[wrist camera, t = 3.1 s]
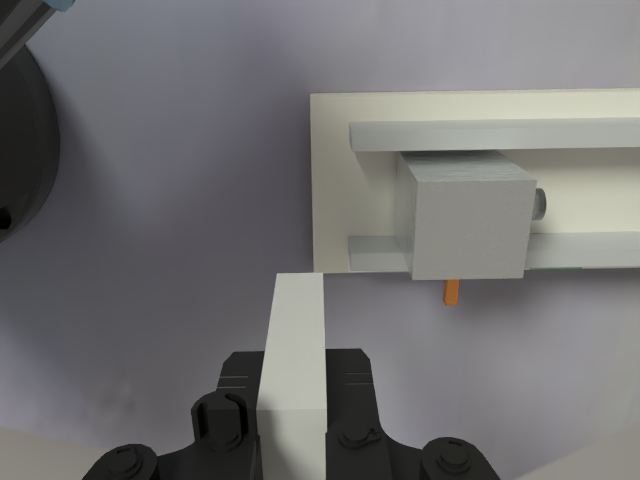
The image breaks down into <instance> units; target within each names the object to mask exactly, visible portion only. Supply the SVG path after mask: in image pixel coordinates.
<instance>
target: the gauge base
mask: <svg viewBox="0 0 640 480" xmlns="http://www.w3.org/2000/svg"><path fill="white" fill-rule="evenodd" d="M310 123H311V170H312V218H313V265H314V273H376V272H409V270H408V267H407V265H406V262H405V259H404V257H403V254H402V251H401V249H400V246H399V243H398V241H397V238H396V235H395V233H394V215H395V191H396V168H397V151H423V150H483V149H496V150H497V151H499V152H500V153H501V154H503V155H504V156H505V157H507V158H508V159H509V160H511V161H512V162H514V163H515V164H516V165H518V166H519V167H520V168H522V169H523V170H524V171H526V172H527V173H529V174H530V175H531V176H533V177H534V178H535V179H537V186H536V188H542V189H543V190H544V192H545V195H546V201H547V206H546V213H545V216H544V217H543V219H542V220H531V226H530V233H529V240H528V247H527V253H526V260H525V267H524V270H552V269H600V268H640V88H609V89H548V90H486V91H424V92H363V93H310Z"/></svg>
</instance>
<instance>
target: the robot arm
mask: <svg viewBox="0 0 640 480" xmlns="http://www.w3.org/2000/svg"><path fill="white" fill-rule="evenodd" d="M74 2H75V0H0V243H1V242H3V241H4V240H6V239H7V238H8V237H10V236H11V235H12V234H14V233H15V232H17V231H18V230H19V229H21V228H22V227H23V226H24V225H26V224H27V223H28V222H29V221H30V220H31V219H32V218H33V217H34V216H35V215H36V213H37V212H38V211H39V210H40V208H41V207H42V205H43V204H44V202H45V201H46V199H47V197H48V195H49V193H50V191H51V188H52V186H53V183H54V180H55V177H56V173H57V168H58V162H59V151H60V139H59V128H58V122H57V116H56V112H55V108H54V104H53V101H52V98H51V95H50V92H49V90H48V87H47V85H46V83H45V80H44V78H43V76H42V74H41V72H40V70H39V68H38V67H37V65H36V63H35V61H34V60H33V58H32V57H31V55H30V53H29V52H28V51H27V49H26V48H25V46H24V44H25V43H26V42H27V41H28V40H29V39H30V38H31V37H32V36H33V35H34V34H35V33H36V32H37V31H38V29H39V28H40V27H41V26H42V25H43V24H44V23H45V22H46V21H47V20H48V19H49V18H50V17H51V16H52V15H53V14H54V13H55V12H56V10H58V11H60V12H66V11H67V10H68V9H69V8H70V7H71V6H72V5H73V3H74ZM191 415H192V423H193V430H194V438H195V441H194V443H193V444H191V445H189V446H188V447H186V448H184V449H181V450H179V451H176V452H172V453H169V454H165V455H161V456H156V453H155V452H154V451H153V450H152V449H151V448H150V447H147V446H145V445H142V444H128V445H124V446H120V447H116V448H115V449H113V450H111V451H109V452H107V453H105V454H104V455H103V456H102V457H101V458H100V459H99V460H98V461H97V462H96V463H95V464H94V465H93V466H92V468H91V469H90V470H89V471H88V473H87V474H86V475H85V476H84V477H83V479H82V480H500V478H499V477H498V475H497V474H496V472H495V471H494V470H493V468H492V467H491V465H490V464H489V463H488V461H487V460H486V458H485V457H484V456H483V454H482V453H481V452H480V451H479V450H478V449H477V448H476V447H475V446H474V445H472V444H470V443H468V442H466V441H464V440H461V439H457V438H453V437H442V438H437V439H435V440H432V441H429V442H428V444H427V445H426V446H425V447H424V448H423V450H421V449H417V448H413V447H409V446H406V445H403V444H400V443H398V442H396V441H394V440H393V439H391V438H390V437H389V436H388V435H387V434H386V433H385V432H384V430H383V429H382V427H381V424H380V421H379V415H378V408H377V402H376V396H375V389H374V385H373V377H372V370H371V364H370V359H369V358H368V357H367V356H366V354H365V353H364V352H363V351H362V350H361V348H360V349H325V326H324V291H323V273H277V276H276V283H275V289H274V296H273V302H272V309H271V316H270V322H269V329H268V335H267V342H266V348H265V351H254V352H233V353H232V354H231V356H230V357H229V358H228V359H227V360H226V361H225V362H224V363H223V367H222V371H221V374H220V378H219V382H218V385H217V389H216V391H214V392H212V393H209V394H207V395H204V396H203V397H202V398H200V399H199V400H198V401H196V402H195V404H194V406H193V407H192V409H191Z"/></svg>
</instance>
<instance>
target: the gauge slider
mask: <svg viewBox="0 0 640 480" xmlns="http://www.w3.org/2000/svg"><path fill="white" fill-rule="evenodd" d="M536 186H537V179H535V178H534V177H533V176H531V175H530V174H529V173H527V172H526V171H524V170H523V169H522V168H520V167H519V166H518V165H516V164H515V163H514V162H512V161H511V160H509V159H508V158H507V157H505V156H504V155H503V154H501V153H500V152H499V151H497V150H496V149H483V150H423V151H397V168H396V191H395V215H394V233H395V235H396V238H397V241H398V243H399V246H400V249H401V251H402V254H403V257H404V259H405V262H406V265H407V267H408V270H409V273H410V275H411V278H412V280H444V291H443V301H444V303H445V305H457V302H458V292H459V282H460V279H508V278H523V274H524V267H525V260H526V253H527V247H528V240H529V233H530V226H531V220H542V219H543V217H544V216H545V213H546V206H547V201H546V195H545V192H544V190H543V189H542V188H536Z"/></svg>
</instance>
